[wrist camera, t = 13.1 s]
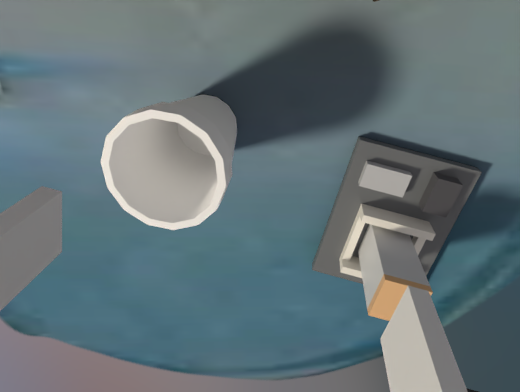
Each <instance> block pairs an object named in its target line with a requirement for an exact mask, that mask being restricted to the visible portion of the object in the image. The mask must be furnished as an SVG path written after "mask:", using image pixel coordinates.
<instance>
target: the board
mask: <svg viewBox="0 0 520 392" xmlns="http://www.w3.org/2000/svg"><path fill="white" fill-rule="evenodd" d="M481 173H482V172H481V171H480V170H479V169H478V168H477V167H473V166H469V165H465V164H462V163H458V162H454V161H450V160H447V159H443V158H439V157H435V156H431V155H428V154H424V153H420V152H416V151H413V150H409V149H405V148H401V147H398V146H394V145H390V144H386V143H383V142H379V141H375V140H371V139H367V138H364V137H360V136H359V137H358V139H357V142H356V145H355V148H354V150H353V153H352V156H351V159H350V161H349V164H348V167H347V170H346V172H345V175H344V178H343V181H342V183H341V186H340V189H339V192H338V195H337V197H336V200H335V203H334V206H333V208H332V211H331V214H330V217H329V219H328V222H327V225H326V228H325V230H324V233H323V236H322V239H321V241H320V244H319V247H318V250H317V253H316V255H315V258H314V261H313V264H312V270H314V271H318V272H321V273H325V274H329V275H332V276H336V277H340V278H343V279H347V280H351V281H354V282H358V283H362V284H363V279H362V273H361V267H360V261H359V255H358V250H359V247H360V245H361V243H362V240H363V238H364V235H365V233H366V231H367V228H368V226H369V224H371V225H375V226H378V227H382V228H386V229H390V230H393V231H397V232H401V233H404V234H408V235H410V237H411V240H412V242H413V245H414V247H415V250H416V252H417V255H418V257H419V260H420V262H421V265H422V267H423V270H424V272H425V275H427V273H428V272H429V270H430V268H431V266H432V264H433V262H434V260H435V259H436V257H437V255H438V253H439V251H440V249H441V247H442V245H443V244H444V242H445V240H446V238H447V236H448V234H449V232H450V231H451V229H452V227H453V225H454V223H455V221H456V219H457V217H458V216H459V214H460V212H461V210H462V208H463V206H464V204H465V203H466V201H467V199H468V197H469V195H470V193H471V191H472V189H473V188H474V186H475V184H476V182H477V180H478V178H479V176H480V175H481Z"/></svg>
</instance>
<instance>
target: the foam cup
mask: <svg viewBox="0 0 520 392" xmlns="http://www.w3.org/2000/svg"><path fill="white" fill-rule="evenodd" d="M236 137H237V124H236V117H235V115H234V114H233V112H232V110H231V109H230V107H229V105H227V104H226V103H225V102H223V101H222V100H220V99H219V98H218V97H214V96H209V95H198V96H194V97H191V98H187V99H183V100H179V101H175V102H171V103H166V102H161V103H157V104H154V105H151V106H147V107H144V108H141V109H137V110H136V111H134V112H132V113H131V114H129V115H127V116H125V117H124V118H123V119H122V120H121V121H120V122H119V123H118V124H117V125H116V126H115V127H114V129H113V130H112V131H111V132H110V133H109V134H108V135H107V136H106V140H105V144H104V149H103V153H102V158H101V165H102V169H103V173H104V176H105V180H106V184H107V188H108V189H109V191H110V192H111V193H112V194H113V196H114V197H115V198H116V200H117V201H118V202H119V204H120V205H121V206H122V208H123V209H124V210H125V211H127V212H128V213H130V214H131V215H133V216H134V217H136V218H138V219H139V220H141V221H142V222H144V223H146V224H147V225H151V226H156V227H161V228H166V229H171V230H176V229H181V228H186V227H190V226H195V225H199V224H200V223H201V222H202V221H204V220H205V219H206V218H207V217H208V216H210V215H211V214H212V213H213V212H215V211H216V210H217V209H218V207H219V205H220V202H221V200H222V198H223V196H224V194H225V191H226V189H227V186H228V184H229V181H230V179H231V176H232V166H231V165H232V159H233V153H234V148H235V142H236Z"/></svg>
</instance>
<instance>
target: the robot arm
mask: <svg viewBox="0 0 520 392" xmlns="http://www.w3.org/2000/svg"><path fill="white" fill-rule="evenodd" d="M61 252H62V192H61V191H58V190H54V189H50V188H47V187H43V186H42V187H40V188H39V189H37V190H35V191H34V192H32V193H31V194H29V195H28V196H26V197H25V198H23V199H22V200H20V201H19V202H17V203H16V204H14V205H13V206H11V207H10V208H8V209H7V210H5V211H4V212H2V213H0V311H1V310H2V309H3V308H4V307H5V306H6V305H7V304H8V303H9V302H10V301H11V300H12V299H13V298H14V297H15V296H16V295H17V294H18V293H19V292H20V291H21V290H23V289H24V288H25V287H26V286H27V285H28V284H29V283H30V282H31V281H32V280H33V279H34V278H35V277H36V276H37V275H38V274H39V273H40V272H41V271H42V270H43V269H44V268H45V267H46V266H47V265H48V264H49V263H51V262H52V261H53V260H54V259H55V258H56V257H57V256H58V255H59V254H60V253H61ZM381 344H382V349H383V355H384V360H385V365H386V371H387V376H388V381H389V386H390V392H478V391H474V390H470V389H467V388H466V386H465V384H464V381H463V379H462V376H461V374H460V371H459V369H458V366H457V363H456V361H455V358H454V356H453V353H452V351H451V348H450V345H449V343H448V340H447V337H446V335H445V332H444V330H443V327H442V325H441V322H440V319H439V317H438V314H437V312H436V309H435V307H434V304H433V301H432V299H431V296H430V294H429V291H427V290H423V289H419V288H416V287H412V286H407V288H406V290H405V292H404V294H403V296H402V298H401V300H400V302H399V304H398V306H397V308H396V310H395V311H394V313H393V315H392V317H391V319H390V321H389V323H388V325H387V327H386V329H385V331H384V333H383V335H382V337H381Z"/></svg>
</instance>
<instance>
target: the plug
mask: <svg viewBox="0 0 520 392" xmlns="http://www.w3.org/2000/svg"><path fill="white" fill-rule="evenodd" d="M358 255H359V261H360V267H361V273H362V279H363V285H364V292H365V298H366V304H367V310H368V315H370V316H373V317H377V318H381V319H384V320H388V321H390V319H391V317H392V315H393V313H394V311H395V310H396V308H397V306H398V304H399V302H400V300H401V298H402V296H403V294H404V292H405V290H406V288H407V286H412V287H416V288H419V289H423V290H427V291H429V294H430V296H431V295H432V293H433V292H432V290H431V287H430V285H429V282H428V280H427V277H426V275H425V272H424V270H423V267H422V265H421V262H420V260H419V257H418V255H417V252H416V250H415V247H414V245H413V242H412V240H411V237H410V235H408V234H404V233H401V232H397V231H393V230H390V229H386V228H382V227H378V226H375V225H371V224H369V226H368V228H367V231H366V233H365V235H364V238H363V240H362V243H361V245H360V247H359V250H358Z"/></svg>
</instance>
